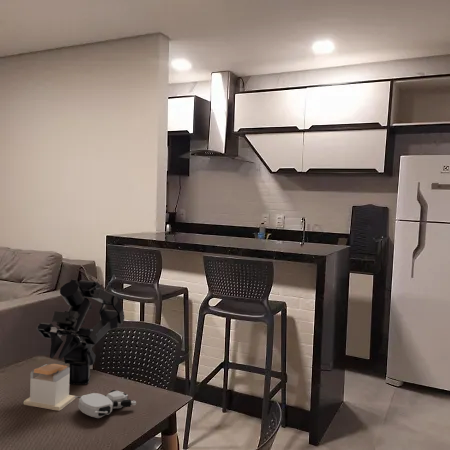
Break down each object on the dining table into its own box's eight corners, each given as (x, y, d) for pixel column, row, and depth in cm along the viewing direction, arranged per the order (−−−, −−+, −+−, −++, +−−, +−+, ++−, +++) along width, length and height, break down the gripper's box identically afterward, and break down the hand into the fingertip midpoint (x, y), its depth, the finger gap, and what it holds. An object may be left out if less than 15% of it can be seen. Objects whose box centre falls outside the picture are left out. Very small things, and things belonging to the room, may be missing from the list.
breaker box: (40, 393, 137) (41, 362, 137) (75, 398, 134) (75, 367, 134) (23, 404, 129) (24, 372, 129) (59, 410, 127) (60, 377, 126)
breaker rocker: (52, 369, 136) (53, 363, 136) (65, 371, 135) (66, 365, 135) (33, 375, 128) (34, 369, 128) (48, 377, 126) (48, 371, 127)
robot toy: (116, 398, 138) (70, 409, 127) (117, 384, 138) (72, 394, 127) (138, 413, 130) (91, 426, 119) (139, 398, 129) (93, 409, 119)
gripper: (40, 297, 140) (15, 342, 130) (93, 303, 135) (72, 349, 125) (55, 315, 148) (32, 359, 138) (105, 321, 143) (86, 366, 133)
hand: (55, 358), depth 133 cm, fingers open, 3 cm apart
